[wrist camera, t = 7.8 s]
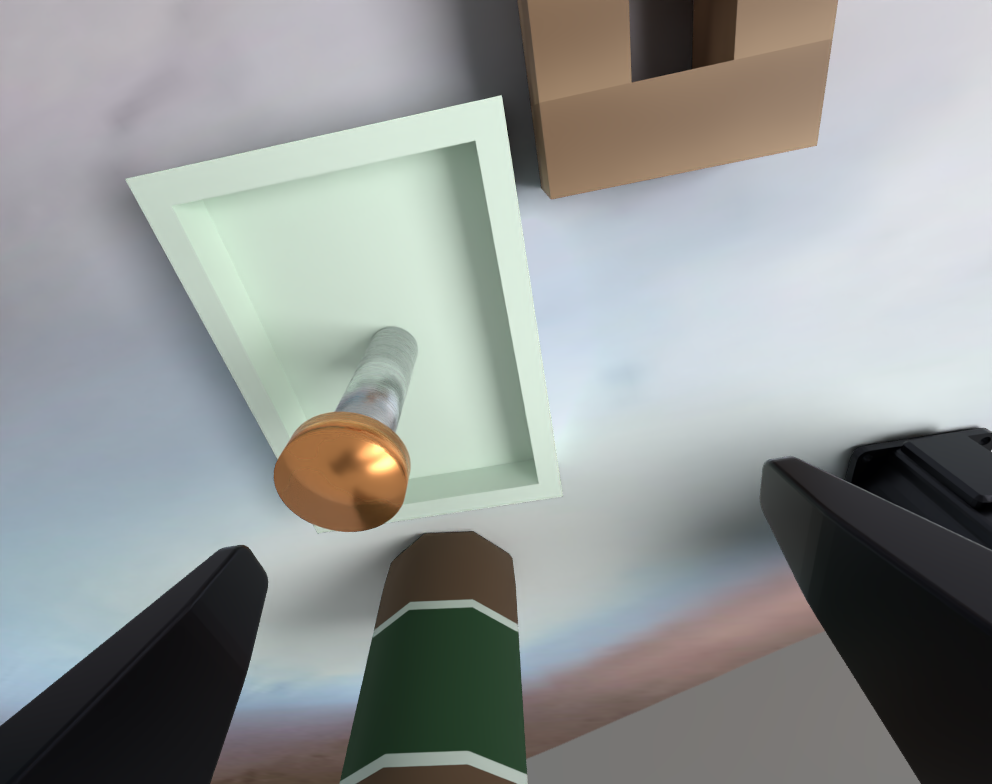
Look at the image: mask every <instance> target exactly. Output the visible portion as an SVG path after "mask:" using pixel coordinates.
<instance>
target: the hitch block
mask: <svg viewBox="0 0 992 784" xmlns="http://www.w3.org/2000/svg"><path fill="white" fill-rule="evenodd" d="M517 2H518V9H519V17H520V25H521V33H522V41H523V49H524V57H525V65H526V72H527V80H528V88H529V96H530V104H531V112H532V120H533V128H534V135H535V143H536V151H537V159H538V167H539V175H540V183H541V188H542V190H543V191H544V192H545V193H546V194H547V195H548V197H549V198H550V199H556V198H561V197H566V196H570V195H575V194H580V193H585V192H590V191H595V190H600V189H605V188H610V187H615V186H620V185H625V184H630V183H635V182H640V181H645V180H649V179H654V178H659V177H664V176H669V175H674V174H679V173H684V172H689V171H694V170H699V169H704V168H709V167H714V166H719V165H724V164H729V163H733V162H738V161H743V160H748V159H753V158H758V157H763V156H768V155H773V154H778V153H783V152H788V151H793V150H798V149H803V148H808V147H812V146H817V141H818V134H819V127H820V121H821V114H822V107H823V100H824V93H825V86H826V79H827V73H828V66H829V59H830V52H831V45H832V38H833V31H834V25H835V18H836V11H837V4H838V0H694V5H693V49H692V69H691V70H686V71H682V72H677V73H673V74H668V75H664V76H659V77H655V78H650V79H646V80H641V81H636V82H632V81H631V50H630V19H629V0H517Z"/></svg>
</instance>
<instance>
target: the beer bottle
mask: <svg viewBox="0 0 992 784" xmlns="http://www.w3.org/2000/svg"><path fill="white" fill-rule="evenodd" d="M340 784H527V768H526V750H525V734H524V717H523V700H522V684H521V667H520V651H519V634H518V617H517V601H516V584H515V576H514V568H513V560H512V557H511V556H510V554H509V553H507V552H506V551H504V550H502V549H501V548H499V547H498V546H496V545H494V544H493V543H491V542H490V541H488V540H486V539H485V538H483V537H482V536H480V535H478V534H477V533H475V532H474V531H471V532H447V533H425V534H423V535H422V536H421V537H420V538H419V539H418V540H416V541H415V542H414V543H413V544H412V545H411V546H409V547H408V548H407V549H406V550H405V551H404V552H402V553H401V554H400V555H399V556H398V557H396V558H395V559H394V561H393V562H392V563H391V565H390V568H389V572H388V575H387V578H386V582H385V585H384V589H383V593H382V597H381V602H380V606H379V610H378V615H377V619H376V624H375V628H374V633H373V637H372V642H371V646H370V650H369V655H368V659H367V664H366V668H365V673H364V677H363V682H362V686H361V690H360V695H359V699H358V704H357V708H356V713H355V717H354V722H353V726H352V730H351V735H350V739H349V744H348V748H347V753H346V757H345V762H344V766H343V770H342V775H341V779H340Z"/></svg>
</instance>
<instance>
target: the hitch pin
mask: <svg viewBox="0 0 992 784" xmlns="http://www.w3.org/2000/svg"><path fill="white" fill-rule="evenodd" d="M417 355H418V345H417V342H416V340H415V338H414V337H413V336H412V334H410V333H409V332H408V331H406V330H405V329H403V328H400V327H395V326H389V327H384V328H382V329H380V330H378V331H377V332H376V333H375V334H374V336H373V337H372V339H371V341H370V343H369V345H368V347H367V349H366V351H365V353H364V355H363V357H362V359H361V361H360V363H359V365H358V367H357V369H356V371H355V373H354V375H353V376H352V378H351V380H350V382H349V384H348V386H347V388H346V390H345V392H344V394H343V396H342V398H341V400H340V402H339V404H338V406H337V408H336V410H335V412H330V413H325V414H320V415H318V416H315V417H312V418H311V419H309V420H307V421H305V422H304V423H303V424H301V425H300V426H299V427H298V428H297V429H296V431H295V432H294V433H293V435H292V437H291V438H290V440H289V442H288V443H287V445H286V446H285V448H284V450H283V451H282V453H281V455H280V456H279V458H278V460H277V462H276V465H275V469H274V483H275V487H276V490H277V492H278V494H279V496H280V498H281V499H282V501H283V502H284V503H285V504H286V506H287V507H288V508H289V509H290V510H291V511H293V512H294V513H295V514H296V515H298V516H299V517H300V518H302V519H304V520H306V521H307V522H309V523H311V524H314V525H316V526H319V527H322V528H325V529H329V530H334V531H342V532H357V531H364V530H369V529H372V528H376V527H378V526H380V525H382V524H384V523H386V522H388V521H389V520H390V519H392V518H393V517H394V516H395V515H396V514H397V513H398V511H399V510H400V508H401V507H402V504H403V502H404V499H405V494H406V490H407V485H408V480H409V475H410V470H411V462H410V456H409V453H408V450H407V448H406V446H405V444H404V443H403V441H402V440H401V439H400V437H399V436H398V435H397V434H396V430H397V427H398V423H399V420H400V416H401V412H402V409H403V405H404V402H405V398H406V395H407V391H408V388H409V384H410V380H411V377H412V373H413V370H414V366H415V363H416V359H417Z"/></svg>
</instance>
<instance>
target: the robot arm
mask: <svg viewBox="0 0 992 784" xmlns="http://www.w3.org/2000/svg"><path fill="white" fill-rule="evenodd" d="M991 450H992V432H991V431H990V430H988V429H986V428H978V429H972V430H965V431H958V432H952V433H945V434H939V435H932V436H925V437H919V438H912V439H906V440H899V441H892V442H886V443H879V444H873V445H866V446H862V447H859V448H857V449H856V450H855V451H854V452H853V453H852V455H851V459H850V463H849V466H848V470H847V474H846V478H845V480H843V479H840V478H838V477H836V476H834V475H832V474H830V473H828V472H826V471H824V470H821V469H819V468H817V467H815V466H813V465H811V464H809V463H807V462H805V461H802V460H800V459H798V458H796V457H782V458H776V459H770V460H767V461H766V462H765V463H764V465H763V469H762V479H761V489H760V504H761V508H762V511H763V513H764V515H765V517H766V519H767V521H768V523H769V525H770V528H771V530H772V532H773V534H774V536H775V538H776V540H777V542H778V544H779V546H780V548H781V550H782V552H783V554H784V556H785V558H786V560H787V562H788V564H789V566H790V568H791V570H792V573H793V575H794V577H795V579H796V581H797V583H798V585H799V587H800V589H801V591H802V593H803V594H804V596H805V598H806V600H807V602H808V604H809V605H810V607H811V609H812V610H813V612H814V614H815V615H816V617H817V619H818V620H819V622H820V623H821V625H822V627H823V628H824V630H825V631H826V633H827V635H828V636H829V638H830V639H831V641H832V643H833V644H834V646H835V647H836V649H837V651H838V652H839V654H840V655H841V657H842V659H843V660H844V662H845V663H846V665H847V666H848V668H849V669H850V671H851V673H852V674H853V676H854V678H855V679H856V681H857V682H858V684H859V686H860V687H861V689H862V690H863V692H864V694H865V695H866V697H867V698H868V700H869V702H870V703H871V705H872V706H873V708H874V709H875V711H876V713H877V714H878V716H879V718H880V719H881V721H882V722H883V724H884V725H885V727H886V729H887V730H888V732H889V734H890V735H891V737H892V738H893V740H894V741H895V743H896V745H897V746H898V748H899V749H900V751H901V753H902V754H903V756H904V757H905V759H906V761H907V762H908V764H909V765H910V767H911V769H912V770H913V772H914V773H915V775H916V776H917V778H918V780H919V781H920V783H921V784H992V452H991ZM267 589H268V577H267V574H266V572H265V570H264V569H263V567H262V566H261V564H260V563H259V562H258V560H257V559H256V557H255V556H254V554H253V553H252V551H251V550H250V549H249V548H248V547H247V546H245V545H237V546H231V547H225V548H222V549H220V550H218V551H217V552H215V553H214V554H213V555H212V556H210V557H209V558H208V559H207V560H206V561H204V562H203V563H202V564H201V565H199V566H198V567H197V568H196V569H194V570H193V571H192V572H191V573H189V574H188V575H187V576H186V577H184V578H183V579H182V580H181V581H179V582H178V583H177V584H176V585H175V586H173V587H172V588H171V589H170V590H168V591H167V592H166V593H165V594H163V595H162V596H161V597H160V598H158V599H157V600H156V601H155V602H153V603H152V604H151V605H150V606H149V607H147V608H146V609H145V610H144V611H142V612H141V613H140V614H139V615H137V616H136V617H135V618H134V619H132V620H131V621H130V622H129V623H127V624H126V625H125V626H124V627H122V628H121V629H120V630H119V631H118V632H116V633H115V634H114V635H113V636H111V637H110V638H109V639H108V640H106V641H105V642H104V643H103V644H101V645H100V646H99V647H98V648H96V649H95V650H94V651H93V652H92V653H90V654H89V655H88V656H87V657H85V658H84V659H83V660H82V661H80V662H79V663H78V664H77V665H75V666H74V667H73V668H72V669H70V670H69V671H68V672H67V673H65V674H64V675H63V676H62V677H61V678H59V679H58V680H57V681H56V682H54V683H53V684H52V685H51V686H49V687H48V688H47V689H46V690H44V691H43V692H42V693H41V694H39V695H38V696H37V697H36V698H35V699H33V700H32V701H31V702H30V703H28V704H27V705H26V706H25V707H23V708H22V709H21V710H20V711H18V712H17V713H16V714H15V715H13V716H12V717H11V718H10V719H9V720H7V721H6V722H5V723H4V724H2V725H1V726H0V784H210V782H211V779H212V776H213V773H214V771H215V768H216V765H217V762H218V759H219V756H220V753H221V750H222V747H223V744H224V741H225V738H226V735H227V732H228V729H229V726H230V723H231V720H232V717H233V714H234V711H235V708H236V705H237V702H238V699H239V696H240V694H241V691H242V687H243V684H244V681H245V678H246V675H247V671H248V667H249V663H250V660H251V656H252V652H253V647H254V643H255V639H256V635H257V631H258V626H259V622H260V618H261V614H262V610H263V606H264V601H265V597H266V593H267Z"/></svg>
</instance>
